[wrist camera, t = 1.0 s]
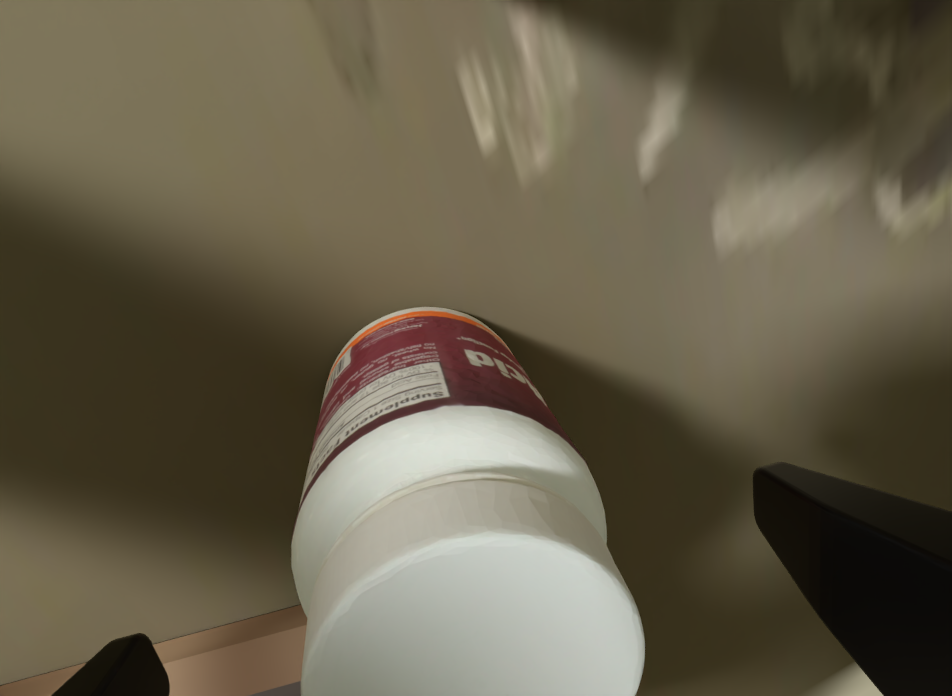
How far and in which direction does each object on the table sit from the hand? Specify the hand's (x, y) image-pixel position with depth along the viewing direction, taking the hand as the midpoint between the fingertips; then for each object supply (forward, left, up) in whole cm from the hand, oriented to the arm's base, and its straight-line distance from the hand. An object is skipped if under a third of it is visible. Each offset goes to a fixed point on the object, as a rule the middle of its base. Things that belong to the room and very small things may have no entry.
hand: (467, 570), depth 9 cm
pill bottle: (0, 0, -7) cm, 7 cm away
